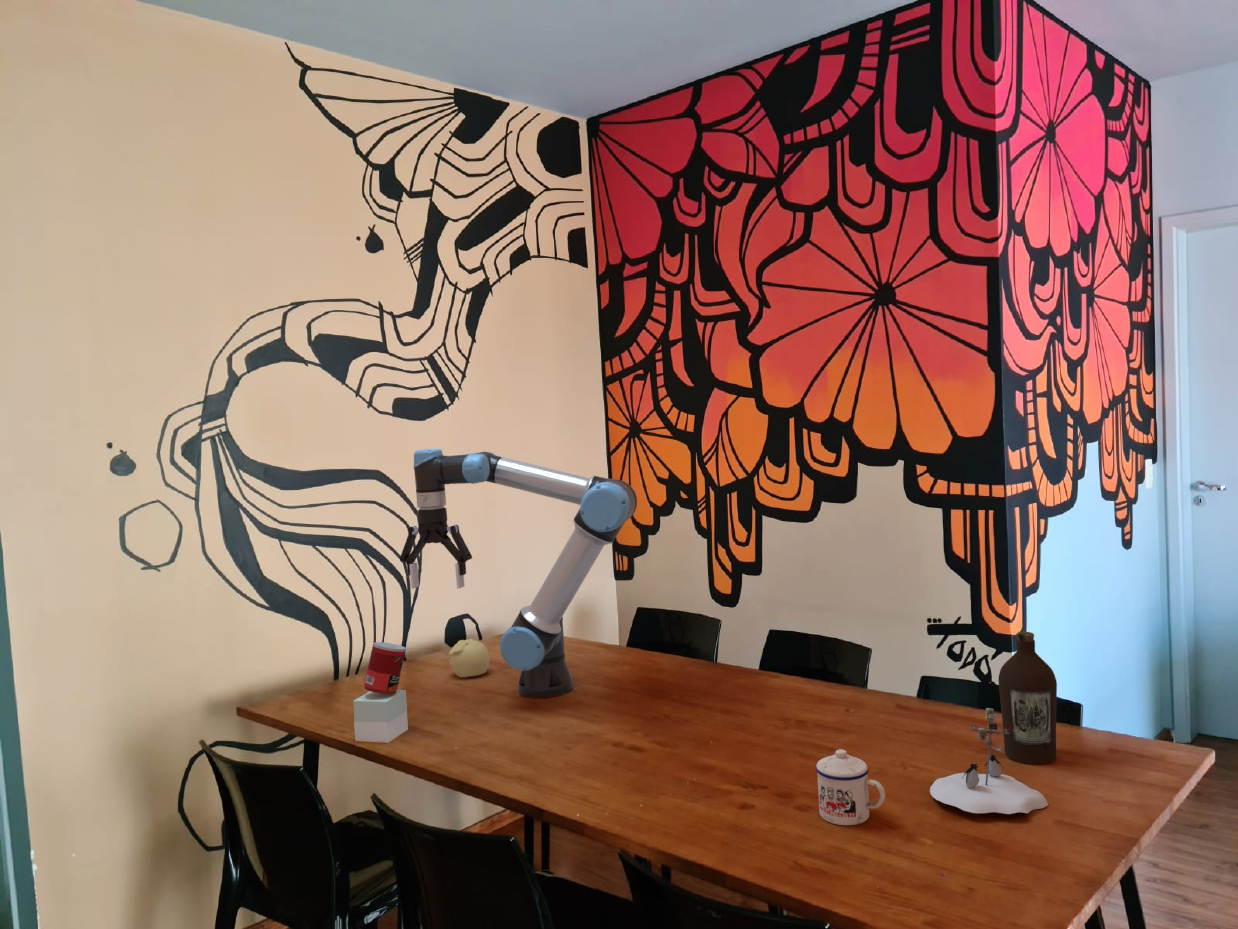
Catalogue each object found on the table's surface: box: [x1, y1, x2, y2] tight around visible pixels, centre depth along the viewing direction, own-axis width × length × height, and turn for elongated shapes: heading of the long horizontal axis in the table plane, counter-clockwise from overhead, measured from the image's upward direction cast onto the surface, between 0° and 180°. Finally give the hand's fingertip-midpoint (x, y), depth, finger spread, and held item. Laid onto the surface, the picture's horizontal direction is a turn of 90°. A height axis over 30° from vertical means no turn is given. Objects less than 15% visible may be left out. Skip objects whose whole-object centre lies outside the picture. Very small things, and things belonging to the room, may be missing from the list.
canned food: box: [364, 641, 407, 694], centre depth 213 cm, size 8×8×11 cm
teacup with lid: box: [815, 749, 886, 826], centre depth 154 cm, size 12×9×12 cm
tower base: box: [353, 709, 409, 744], centre depth 212 cm, size 9×9×5 cm
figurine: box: [929, 707, 1049, 815], centre depth 158 cm, size 20×18×16 cm
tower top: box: [352, 689, 408, 723], centre depth 212 cm, size 9×9×5 cm
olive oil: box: [997, 631, 1058, 765], centre depth 175 cm, size 11×11×25 cm
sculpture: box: [447, 638, 491, 678], centre depth 260 cm, size 12×12×11 cm
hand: (437, 587), depth 231 cm, fingers open, 13 cm apart
